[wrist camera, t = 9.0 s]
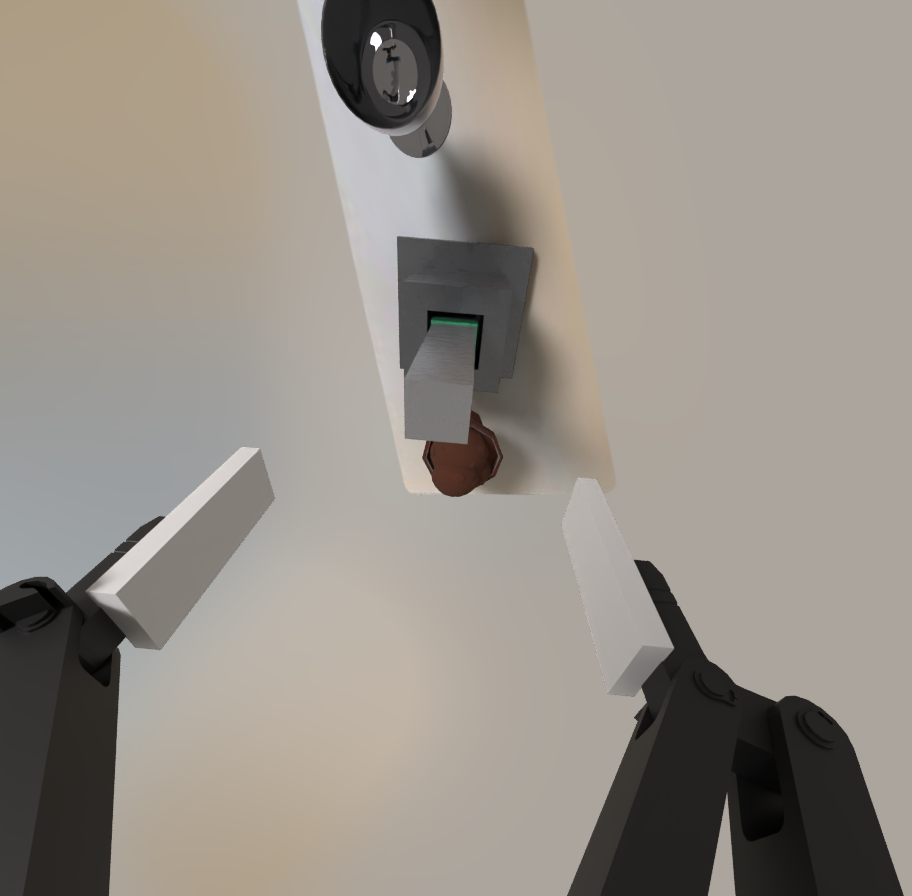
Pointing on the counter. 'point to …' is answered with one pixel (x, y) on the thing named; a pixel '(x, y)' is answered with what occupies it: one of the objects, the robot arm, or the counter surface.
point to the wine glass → (390, 68)
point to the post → (442, 381)
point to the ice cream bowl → (463, 460)
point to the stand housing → (464, 298)
